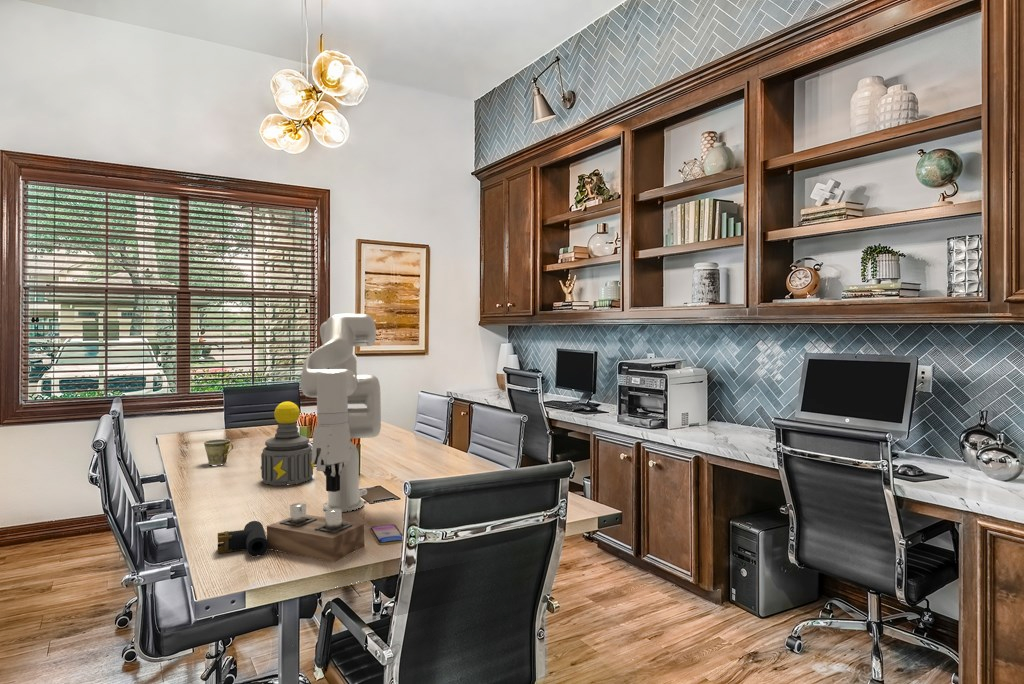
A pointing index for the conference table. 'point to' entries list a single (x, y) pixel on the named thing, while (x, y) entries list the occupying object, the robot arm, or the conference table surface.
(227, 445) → the ceramic cup
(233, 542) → the pipe connector
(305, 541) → the plunger block
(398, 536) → the smartphone
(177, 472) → the conference table surface
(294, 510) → the peg
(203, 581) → the conference table surface
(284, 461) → the grey lightning bolt generator
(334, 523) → the peg
